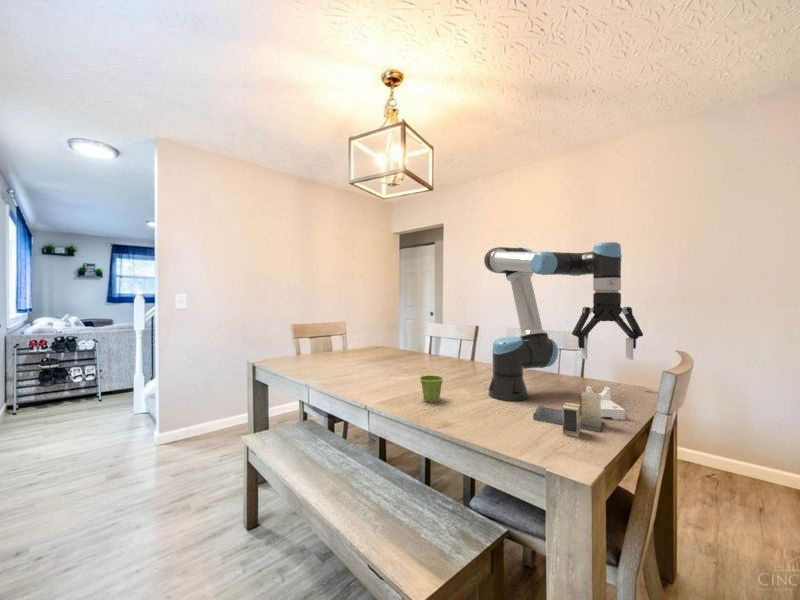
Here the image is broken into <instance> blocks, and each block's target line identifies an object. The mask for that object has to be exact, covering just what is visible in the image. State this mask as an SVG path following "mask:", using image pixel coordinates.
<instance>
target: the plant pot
mask: <svg viewBox="0 0 800 600" xmlns="http://www.w3.org/2000/svg"><path fill="white" fill-rule="evenodd" d="M419 380H420V383H421V388H422V395H423V401H425V400H426V401H425V402H427V401H428V402H430V401H437V402H439V401H440V399H441V389H442V384H443V381H444V380H445V378H444V377H443V376H441V375H434V374H433V375H431V374H429V375H426V374H425V375H421V376H420V377H419ZM438 400H439V401H438Z"/></svg>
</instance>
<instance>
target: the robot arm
mask: <svg viewBox="0 0 800 600" xmlns="http://www.w3.org/2000/svg"><path fill="white" fill-rule="evenodd" d="M483 259H484V260H483V263H484V266H485V268H486V269H487V270H488V271H490V272H492V273H496V274H505V278H506V281H508V282H510V284H511V290H512V295H513V299H514V304H515V310H516V313H517V317H518V322H519V329H520V335H519V336H505V337H499V338H497V339H495V340H494V341H493V343H492V350H491V352H492V376H491V380H490V383H489V386H488V396H490V397H491V396H492V397H491V398H493V397H494V399H496V398H497V399H496V400H500V399H501V400H503V401H507V402H508V401H510V402H511V401H512V402H517V401H518V402H519V401H523V400H527V399H528V393H529V392H528V389H527V387H526V383H525V380H524V376H523V375H524V370H525V369H536V368H537V369H543V368H548V367H551V366H553V365H554V364H555V362H556V361H557V359H558V357H559V356H558V354H559V353H558V352H559V349H558V345H557V343H556V342H555V341H554V340H553V339H552V338H549V335H548V332H546V331H545V330H544V329H543V325H542V321H541V317H540V313H539V309H538V304H537V299H536V296H535V292H534V287H533V281H532V277H533V276H534V274H536V275H541V276H547V275H548V276H549V275H551V276H553V275H554V276H555V275H556V276H557V275H559V276H560V275H564V276H578V277H579V276H587V275H592V276H593V277H592V280H593V281H592V282H593V283H592V284H593V285H592V286H593V287H592V288H593V289H592V291H594V292H593V294H592V295H593V296H592V299H593V300H592V304H593V307H588V306H584V307H582V311H581V312H582V313H581V315H580V317H579V319H578V321H577V323H576V325H575V326H574V328H573V330H572V332H571V334H572V336H575V337H577V339H578V342H577V345H578V348H579V349H580V354H581V355H580V357H581V359H584V360H588V338H586V336H587V335H588V334H589V333H590V332H591V331H592V330H593V329H594V327H595V326H596V325H597V324H598V323H600V322H614V323H616V324H617V326H619V327H620V328H621V330H622V332H624V333H625V334H626V335H627V337H625V359H627V360H630V361H631V360H632V361H633V360H634V350H635V349H637V348H636V347H637V339H639V338H640V337H643V336H644V334H643V331H642V330H641V327H640V326H639V323H638V322H637V320H636V318H635V316H634V314H633V308H632V307H631V306H624V307H622V306H621V304H622V293H621V292H619V291H621V289H622V273H621V272H622V248H621V244H620V243H619V242H616V241H615V242H614V241H610V242H609V241H607V242H606V241H605V242H598V243H595V244H594V245H593V247H592V251H587V252H560V251H559V252H557V251H556V252H555V251H533V250H531V249H529V248H524V247H503V246H499V247H498V246H497V247H493V248H491V249H489V250H488V251H487V252H486V253H485V256H484V258H483ZM592 313H593V316H592V317H591V319H590V320H589V321H588V323H587V320H588V318H589V316H590V315H591V314H592ZM621 314H623V315H624V317H625V319H626V321H627V323H628V324H627V323H626V322H625V321H624V319H623V318H622V317H621V316H620V315H621ZM585 324H586V325H585ZM501 400H500V401H501Z"/></svg>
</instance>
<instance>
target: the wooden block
mask: <svg viewBox="0 0 800 600" xmlns="http://www.w3.org/2000/svg"><path fill="white" fill-rule="evenodd" d="M562 410H563V425H562V435H564V436H570V437H575V438H579V436H580V433H581V428H580V404H577V403H570V402H565V403H564V404H563V406H562Z"/></svg>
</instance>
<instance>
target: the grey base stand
mask: <svg viewBox="0 0 800 600" xmlns="http://www.w3.org/2000/svg"><path fill="white" fill-rule="evenodd" d="M579 405H580V430H581V429H582V430H586V431H591V432H596V433H597V432H598V433H601V430H602V427H603V422H604V419H603V418H604V417H601V394H599V393H596V394H594V392H593V393H587V392H586V391H582V393H580V396H579ZM532 420H534V421H540V422H544V421H545V422H546V423H549V422H550V423H551V424H555V425H561V426H563V409H558V408H557V409H556V408H551V407H546V406H543V404H538V406H537V408H536V409H535V412H534V413H533V414H532Z"/></svg>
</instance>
